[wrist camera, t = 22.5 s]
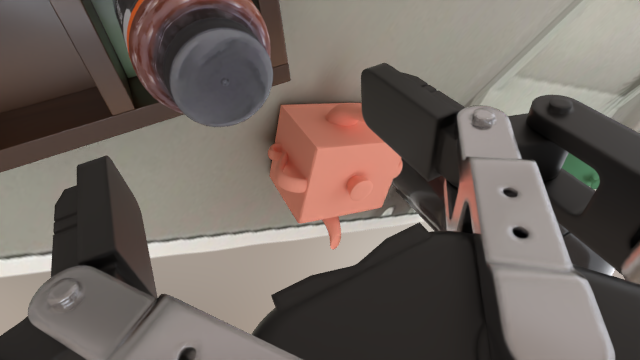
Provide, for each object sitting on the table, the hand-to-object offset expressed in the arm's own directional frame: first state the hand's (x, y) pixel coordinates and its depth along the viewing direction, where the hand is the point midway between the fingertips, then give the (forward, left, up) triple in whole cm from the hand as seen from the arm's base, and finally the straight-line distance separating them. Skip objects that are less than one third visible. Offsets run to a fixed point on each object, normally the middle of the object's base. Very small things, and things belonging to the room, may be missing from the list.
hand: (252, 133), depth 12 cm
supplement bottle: (0, 0, -15) cm, 15 cm away
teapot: (-14, -9, -16) cm, 23 cm away
